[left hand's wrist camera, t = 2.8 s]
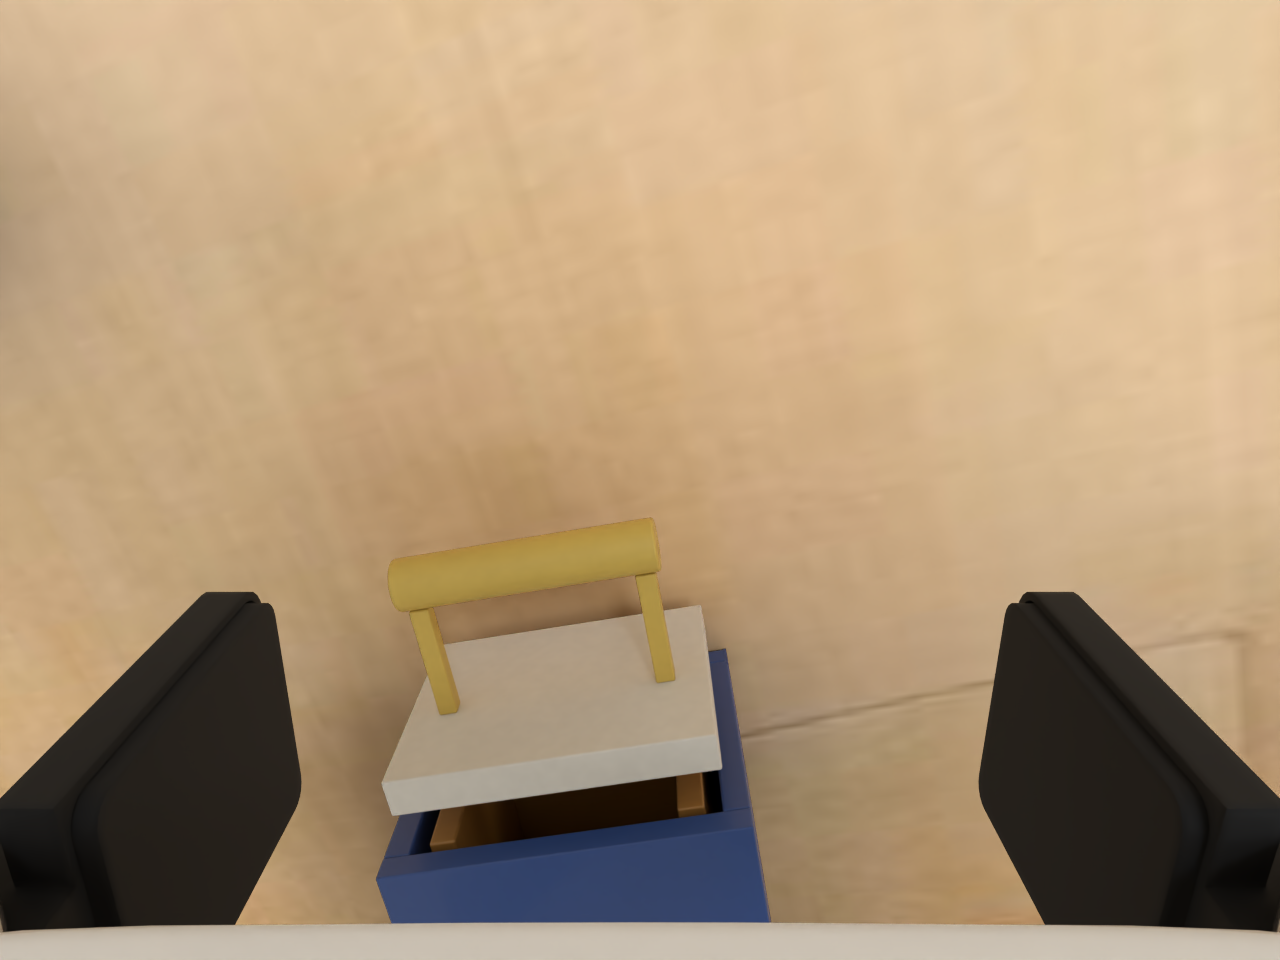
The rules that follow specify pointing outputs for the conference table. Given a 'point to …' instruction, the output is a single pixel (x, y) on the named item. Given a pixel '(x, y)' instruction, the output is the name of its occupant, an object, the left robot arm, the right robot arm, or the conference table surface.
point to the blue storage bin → (595, 861)
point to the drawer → (554, 698)
